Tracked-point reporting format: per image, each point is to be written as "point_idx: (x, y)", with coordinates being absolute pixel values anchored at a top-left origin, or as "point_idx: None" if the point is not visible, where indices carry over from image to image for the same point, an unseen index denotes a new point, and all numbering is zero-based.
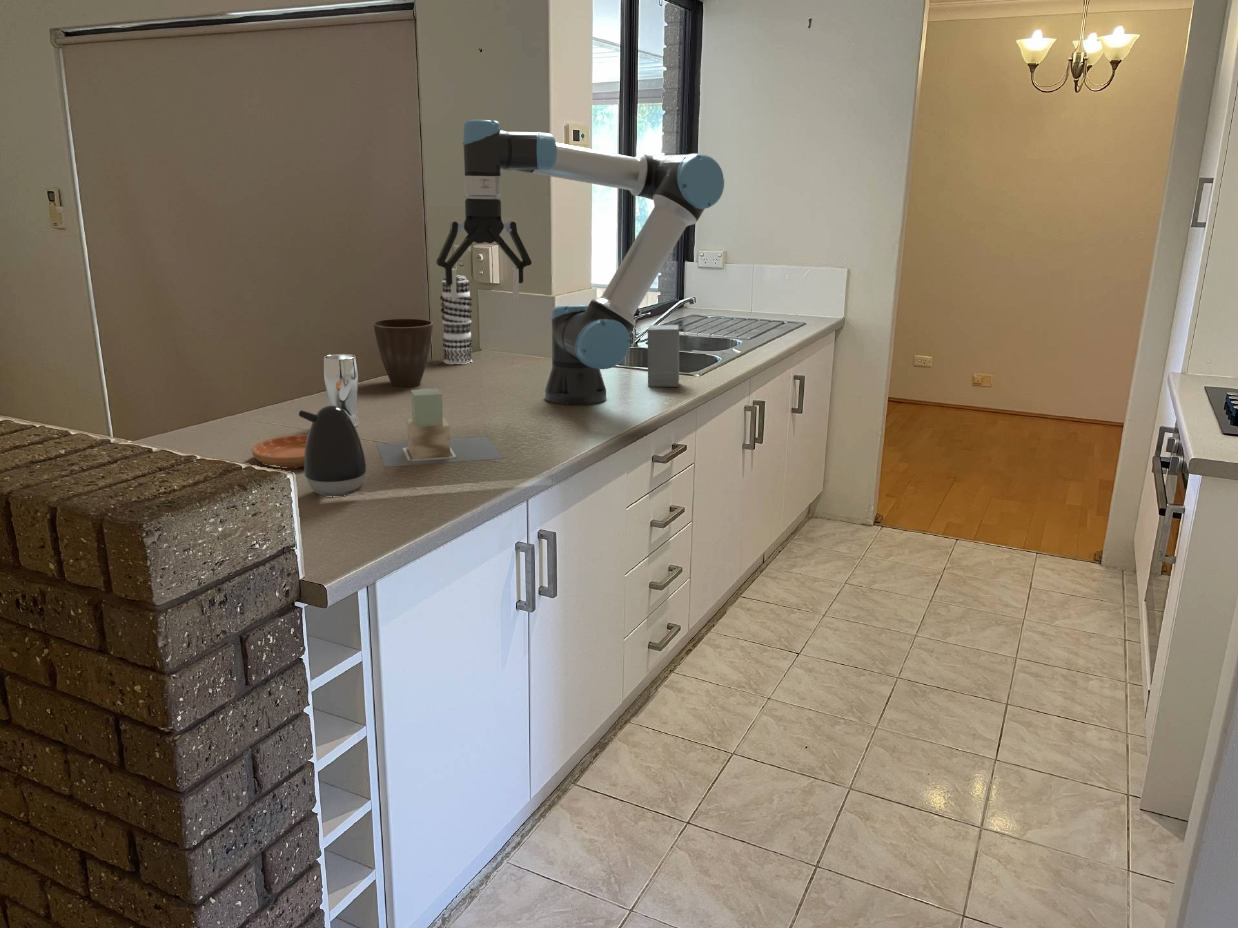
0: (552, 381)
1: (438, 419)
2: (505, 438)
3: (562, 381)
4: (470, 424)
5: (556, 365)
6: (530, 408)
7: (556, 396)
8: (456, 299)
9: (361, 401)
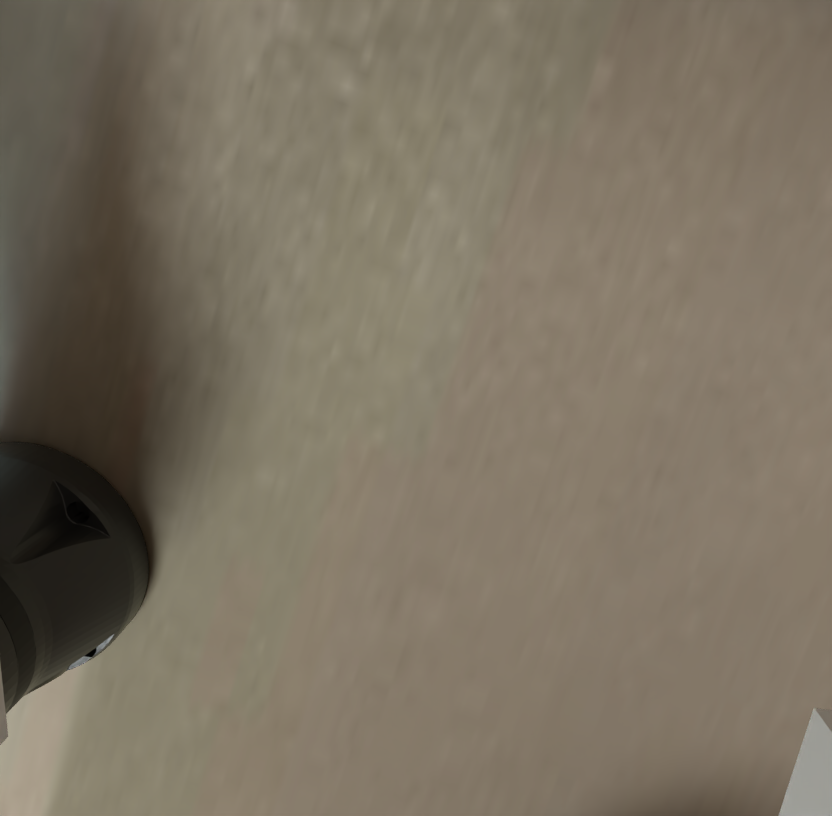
0: (87, 579)
1: None
2: (476, 20)
3: (47, 544)
4: (535, 306)
5: (23, 616)
6: (239, 468)
7: (110, 513)
8: (825, 722)
9: None
